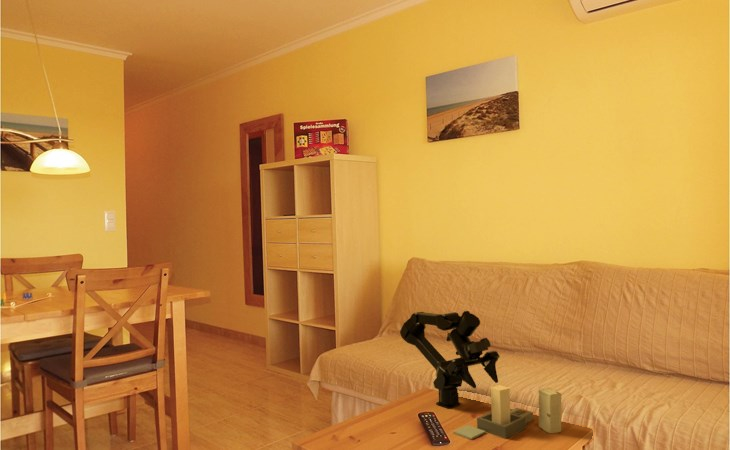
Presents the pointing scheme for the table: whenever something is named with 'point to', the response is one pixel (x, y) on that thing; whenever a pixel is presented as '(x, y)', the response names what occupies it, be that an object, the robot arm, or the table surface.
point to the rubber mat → (469, 432)
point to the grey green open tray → (516, 424)
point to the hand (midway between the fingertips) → (486, 385)
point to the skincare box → (550, 410)
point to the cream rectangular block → (500, 404)
